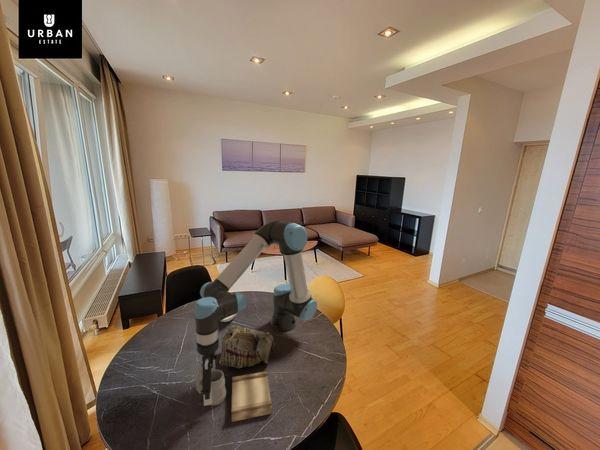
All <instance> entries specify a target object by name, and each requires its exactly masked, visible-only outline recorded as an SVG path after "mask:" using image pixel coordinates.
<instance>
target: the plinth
mask: <svg viewBox="0 0 600 450" xmlns="http://www.w3.org/2000/svg"><path fill="white" fill-rule="evenodd" d="M231 379H232V380H231V381H232V383H231V423H234V422H239V421H243V420H247V419H252V418H258V417H261V416H266V415H271V414H272V412H273V409H272V405H273V403H272V400H271V391H270V386H269V385H270V384H269V379H268V371H266V370H265V371H260V372H255V373H249V374H244V375H243V374H242V375H237V376H232V377H231Z"/></svg>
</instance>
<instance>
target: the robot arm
mask: <svg viewBox="0 0 600 450" xmlns="http://www.w3.org/2000/svg"><path fill="white" fill-rule="evenodd" d="M307 242H308V233H307V231H306V229H305V227H304V226H302V225H300V224H297V223H296V222H295V223H294V222H288V221H284V220H279V219H274V220H270V221H268V222H266V223H265V224H263V225H262V226H261V227H259V228H258V229H257V230H256V231H255V232H254V233H253V234H252V239H251V240H250V241H249V242H248V243H247V244H246V245H245V246H244V247H242V249H241V251H240V252H239V253H238V254H237V255H236V256H235V257H234V258H233V259H232V260H231V262H229V263H228V265H227V266H226V267H225V268H224V269H223V270H222V272H221V273H219V275H218V276H217V277H215V279H214V280H213V281H208V282H206V283H204V284H203V285H202V286H201V287H200V290H199V295H200V297H201V298H199V299H198V300H197V301H196V302H195V304H194V320H195V321H194V322H195V332H194V336H196V352H197V353H198V354H199V355H201V356H202V357H201V358H202V359H201V362H202V364H201V367H202V370H203V378H202V380H201V384H202V390H201V392H202V393H201V395H202V396H203V406H204V407H205V406H212V405H211V404H212V387H211V371H213V370H216V360H217V359H218V358H217V357H218V355H216V352H217V351H218V349H219V345H220V343H219V342H220V341H219V339H220V338H219V335H220V334H219V322H221V320H223V319H225V318H227V317H229V316H232V315H234V314H236V313H237V314H238V313H240V312H241V311H244V310H245V309H246V308H247V298H246V296H245V293H243V292H241V291H236V292H234V293H231V292H230V289H231V288H232V287H233V286H234V285H235V284H236V282H237V281H238V280H239V279H240V278H241V276H242V275H243V274H244V273H245V272H246V271H247V269H249V267H250V266H251V265H252V264H253V263H254V262H255V261H256V259H257V258H258V257H259V256H260V254H261V253H262V252H263V251H265V249H268V248H269V247H270V246H271V245H273V244H274V245H278V246H277V247H278V249H279V253H280V255H282V256H283V258H284V262H285V263H284V264H285V267H286V273H287V278H288V283H289V284H288V283H283V284H279V285H277V286H275V287H274V289H273V294H272V296H273V312H272V315H271V318H270V322H269V323H270V327H271V328H272V329H274V330H275V331H279V332H287V331H291V330H293V329H294V328H295V327H297V318H299V319H300V320H302V321H305V322H306V321H309V320H311V319H312V318H313V317H314V315H315V313H316V311H317V309H318V302H317V300H316V299H315V298H313V297H312V292H311V290H309V289H308V284H307V279H306V273H305V265H304V261H303V259H304V258H303V256H302V255H303V251H304V249H305V248H306V245H307Z"/></svg>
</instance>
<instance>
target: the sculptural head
mask: <svg viewBox="0 0 600 450" xmlns="http://www.w3.org/2000/svg"><path fill="white" fill-rule="evenodd" d="M227 330H228V331H227V332H225V334H224V335H223V337H222V341H221V343H222V344H221V354H220V359H219V360H218V364H219V365H220V366H223V367H224V366H226V367H231V368H236V369H242V368H245V367H248V368H249V367H253V366H256V365H259V364H260V363H261V362H262V361H263V363H265V364H270V359H271V354H272V352H273V351H274V350H273V349H274V346H275V340H274V335H273V334H271V332H265V331H259V330H256V329H252V328H247V327H242V326H241V325H237V324H235V325H232V326H230V327H228V328H227Z"/></svg>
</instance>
